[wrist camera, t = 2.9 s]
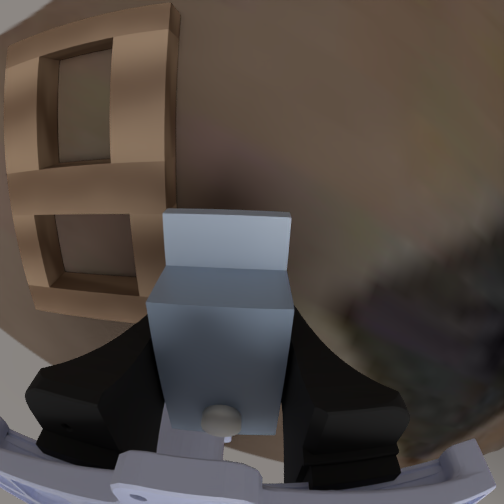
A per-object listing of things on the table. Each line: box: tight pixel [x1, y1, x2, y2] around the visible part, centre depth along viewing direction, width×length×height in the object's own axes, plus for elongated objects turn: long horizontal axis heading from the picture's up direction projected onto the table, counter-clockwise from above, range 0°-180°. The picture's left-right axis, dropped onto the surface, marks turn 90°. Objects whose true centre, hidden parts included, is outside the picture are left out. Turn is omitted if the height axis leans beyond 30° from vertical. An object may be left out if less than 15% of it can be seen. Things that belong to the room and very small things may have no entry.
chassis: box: [4, 2, 181, 323], centre depth 17 cm, size 20×12×2 cm, turn 178°
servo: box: [146, 208, 294, 437], centre depth 12 cm, size 4×10×6 cm, turn 178°
